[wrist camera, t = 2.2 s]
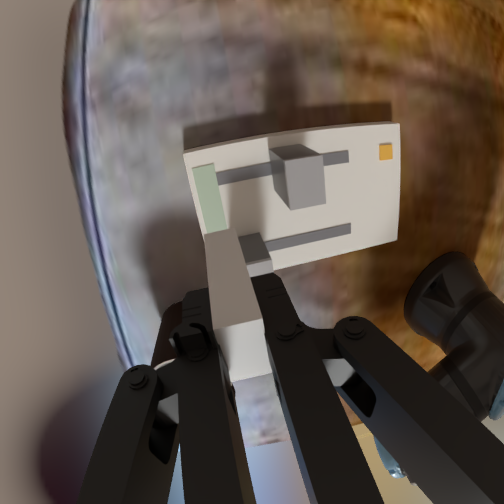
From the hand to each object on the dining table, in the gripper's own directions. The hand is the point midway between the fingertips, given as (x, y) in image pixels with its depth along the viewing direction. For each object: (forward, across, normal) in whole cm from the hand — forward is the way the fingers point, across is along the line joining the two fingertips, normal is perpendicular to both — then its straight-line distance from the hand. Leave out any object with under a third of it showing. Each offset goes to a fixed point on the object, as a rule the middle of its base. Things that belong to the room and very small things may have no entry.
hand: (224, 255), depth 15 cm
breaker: (+14, -2, +8) cm, 16 cm away
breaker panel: (+16, -9, +4) cm, 19 cm away
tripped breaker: (+14, -7, 0) cm, 15 cm away
